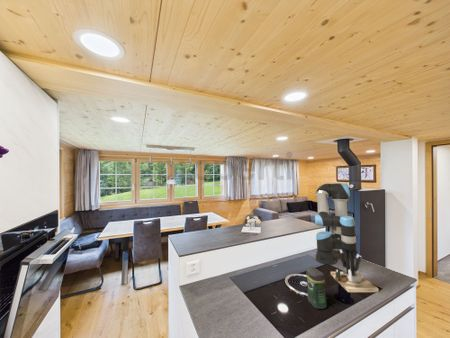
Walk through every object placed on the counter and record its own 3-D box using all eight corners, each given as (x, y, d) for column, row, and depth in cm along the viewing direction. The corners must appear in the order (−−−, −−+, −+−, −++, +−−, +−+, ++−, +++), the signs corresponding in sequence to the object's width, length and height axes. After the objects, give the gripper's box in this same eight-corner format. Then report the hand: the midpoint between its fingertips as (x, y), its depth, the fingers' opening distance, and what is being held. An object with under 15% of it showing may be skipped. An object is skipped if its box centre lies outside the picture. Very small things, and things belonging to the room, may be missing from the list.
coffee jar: (329, 308, 97) (327, 273, 98) (316, 311, 96) (314, 275, 97) (317, 297, 107) (315, 265, 108) (305, 299, 105) (303, 266, 106)
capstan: (351, 274, 126) (351, 262, 126) (365, 282, 116) (364, 269, 116) (330, 277, 122) (329, 265, 122) (343, 286, 112) (342, 273, 113)
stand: (330, 274, 130) (330, 271, 130) (356, 274, 129) (356, 271, 129) (348, 292, 110) (347, 288, 110) (378, 292, 109) (378, 288, 109)
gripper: (363, 243, 108) (366, 283, 108) (340, 237, 119) (342, 273, 118) (358, 246, 104) (361, 287, 103) (334, 240, 115) (337, 277, 114)
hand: (351, 280), depth 111 cm, fingers closed
